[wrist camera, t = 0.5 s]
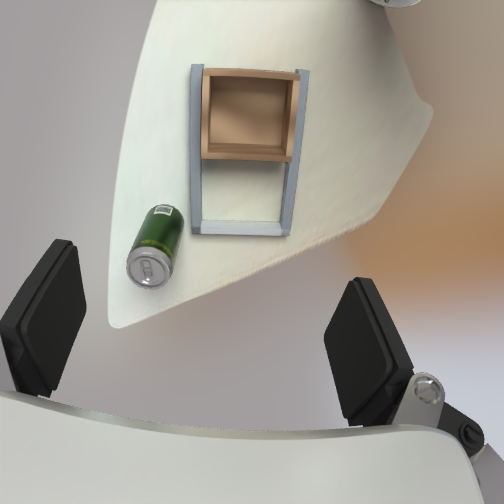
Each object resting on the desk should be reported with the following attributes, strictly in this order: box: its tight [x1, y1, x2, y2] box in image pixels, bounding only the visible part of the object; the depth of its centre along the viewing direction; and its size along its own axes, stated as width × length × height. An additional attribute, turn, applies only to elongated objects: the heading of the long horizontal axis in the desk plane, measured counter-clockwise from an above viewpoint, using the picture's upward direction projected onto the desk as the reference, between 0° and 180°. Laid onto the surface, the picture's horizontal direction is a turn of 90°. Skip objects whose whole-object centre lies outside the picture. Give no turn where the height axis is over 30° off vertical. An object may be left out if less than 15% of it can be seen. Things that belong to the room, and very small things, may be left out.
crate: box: [201, 68, 301, 162], centre depth 34 cm, size 10×10×5 cm
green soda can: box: [126, 204, 184, 289], centre depth 39 cm, size 5×5×12 cm
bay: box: [190, 64, 310, 236], centre depth 39 cm, size 22×13×2 cm, turn 176°
